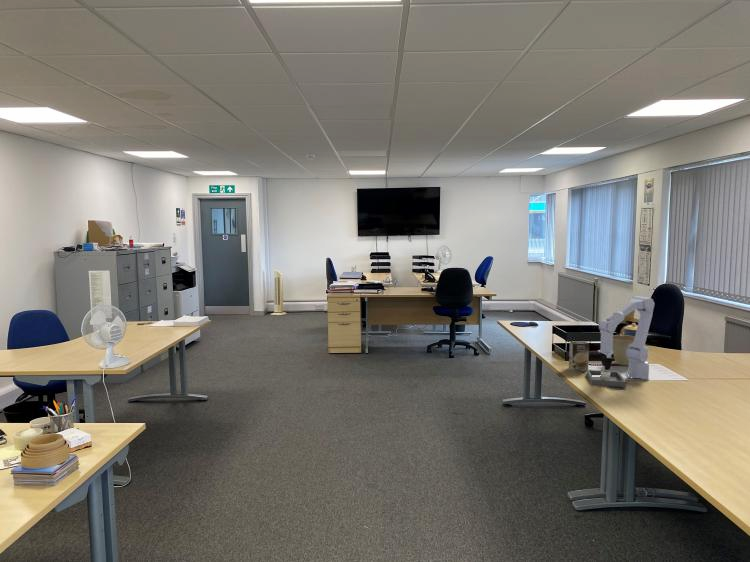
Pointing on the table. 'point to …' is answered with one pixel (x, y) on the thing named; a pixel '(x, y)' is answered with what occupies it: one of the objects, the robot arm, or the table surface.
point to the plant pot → (621, 348)
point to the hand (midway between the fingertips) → (605, 367)
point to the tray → (614, 381)
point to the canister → (630, 330)
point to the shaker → (605, 374)
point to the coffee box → (578, 355)
